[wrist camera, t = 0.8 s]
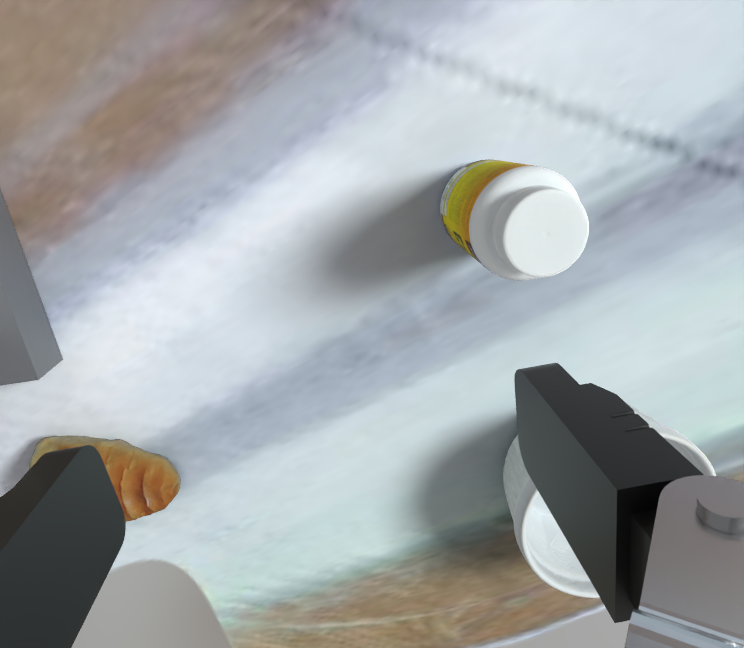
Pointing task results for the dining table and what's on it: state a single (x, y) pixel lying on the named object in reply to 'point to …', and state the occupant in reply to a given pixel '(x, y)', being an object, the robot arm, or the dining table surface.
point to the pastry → (126, 472)
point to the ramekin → (542, 532)
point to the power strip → (21, 314)
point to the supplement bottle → (515, 218)
